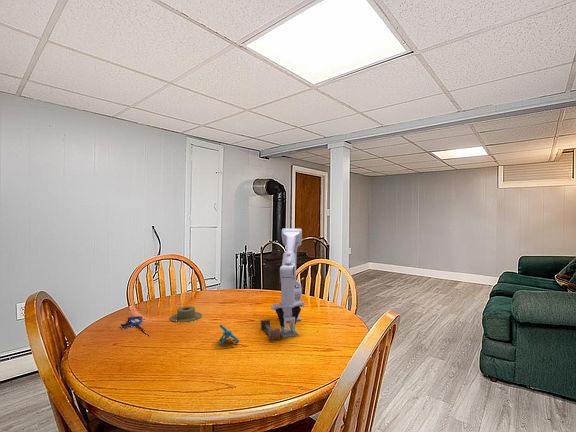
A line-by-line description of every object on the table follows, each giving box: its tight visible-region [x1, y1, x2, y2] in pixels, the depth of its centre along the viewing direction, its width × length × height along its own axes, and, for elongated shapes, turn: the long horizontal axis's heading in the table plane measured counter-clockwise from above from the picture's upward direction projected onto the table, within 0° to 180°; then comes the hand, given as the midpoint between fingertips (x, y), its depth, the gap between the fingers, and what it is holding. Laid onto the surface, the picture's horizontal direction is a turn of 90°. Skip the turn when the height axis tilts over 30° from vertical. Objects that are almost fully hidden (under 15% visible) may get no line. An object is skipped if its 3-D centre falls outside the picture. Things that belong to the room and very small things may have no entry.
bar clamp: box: [120, 315, 146, 333], centre depth 132 cm, size 32×2×10 cm
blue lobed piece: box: [219, 324, 240, 346], centre depth 119 cm, size 11×6×10 cm
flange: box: [169, 305, 203, 323], centre depth 149 cm, size 5×15×15 cm
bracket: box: [280, 314, 296, 333], centre depth 129 cm, size 4×5×6 cm
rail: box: [259, 318, 281, 342], centre depth 128 cm, size 14×4×4 cm, turn 21°
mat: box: [279, 328, 299, 339], centre depth 129 cm, size 7×7×1 cm
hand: (287, 325), depth 129 cm, fingers closed on bracket, 5 cm apart
